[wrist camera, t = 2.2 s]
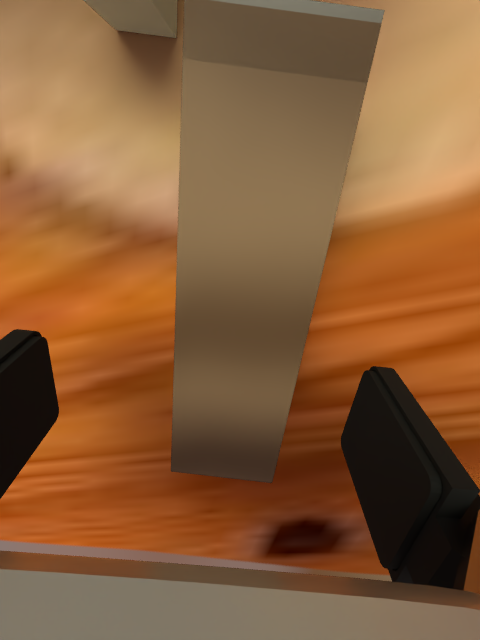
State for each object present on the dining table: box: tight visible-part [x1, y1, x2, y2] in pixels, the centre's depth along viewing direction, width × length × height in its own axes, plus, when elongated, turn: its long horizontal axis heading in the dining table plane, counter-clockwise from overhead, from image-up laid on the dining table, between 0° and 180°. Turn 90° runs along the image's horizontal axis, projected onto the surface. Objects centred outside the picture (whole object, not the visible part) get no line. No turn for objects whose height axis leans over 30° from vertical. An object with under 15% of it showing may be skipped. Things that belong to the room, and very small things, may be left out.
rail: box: [171, 0, 384, 483], centre depth 12 cm, size 14×4×5 cm, turn 173°
